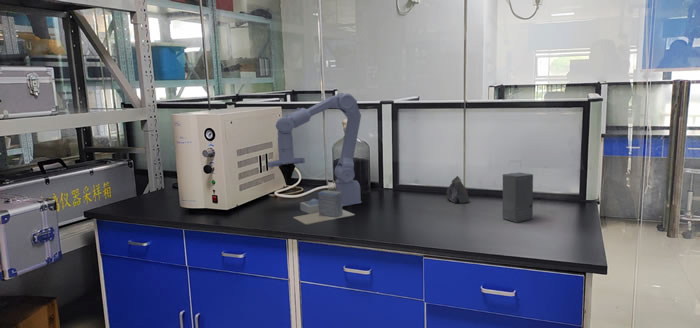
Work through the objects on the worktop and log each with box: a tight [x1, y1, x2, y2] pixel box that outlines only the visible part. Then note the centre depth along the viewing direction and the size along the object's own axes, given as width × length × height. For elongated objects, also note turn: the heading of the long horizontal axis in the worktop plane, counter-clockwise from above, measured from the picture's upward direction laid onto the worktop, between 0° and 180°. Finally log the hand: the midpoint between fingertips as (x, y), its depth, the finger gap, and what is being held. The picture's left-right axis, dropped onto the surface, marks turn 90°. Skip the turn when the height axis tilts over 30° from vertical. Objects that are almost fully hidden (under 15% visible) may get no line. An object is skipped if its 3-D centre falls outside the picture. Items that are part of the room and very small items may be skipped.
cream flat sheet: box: [292, 208, 356, 226], centre depth 181 cm, size 20×11×1 cm, turn 120°
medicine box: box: [317, 189, 344, 217], centre depth 181 cm, size 8×4×9 cm, turn 59°
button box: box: [299, 200, 319, 214], centre depth 190 cm, size 8×8×3 cm
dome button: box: [306, 198, 318, 206], centre depth 190 cm, size 5×5×4 cm
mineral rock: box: [446, 176, 470, 204], centre depth 198 cm, size 13×11×10 cm
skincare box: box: [502, 172, 534, 224], centre depth 168 cm, size 8×7×16 cm
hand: (287, 183), depth 192 cm, fingers closed
